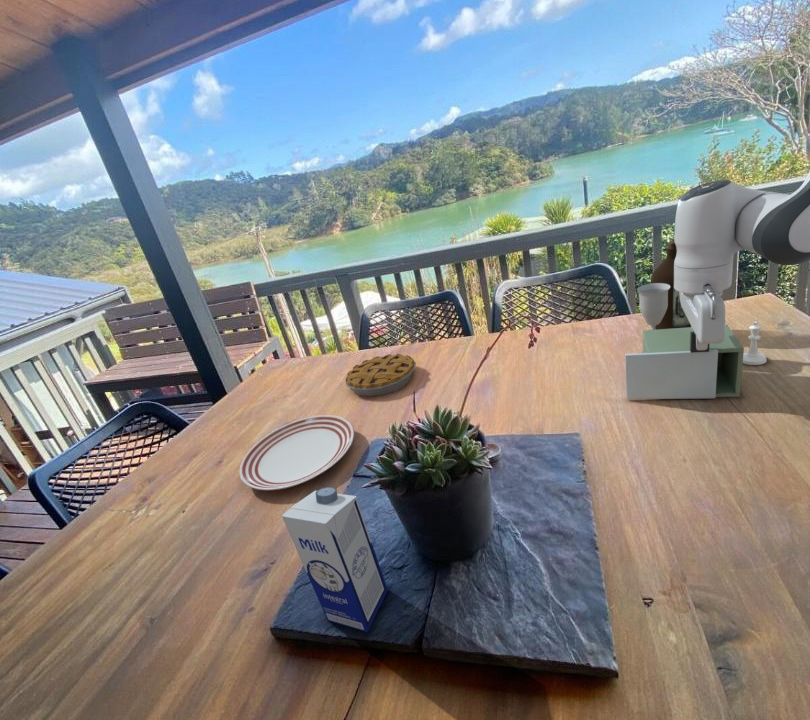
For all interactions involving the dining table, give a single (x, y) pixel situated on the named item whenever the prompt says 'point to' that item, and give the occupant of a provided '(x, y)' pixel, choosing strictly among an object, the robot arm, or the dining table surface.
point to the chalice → (653, 302)
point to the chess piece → (754, 347)
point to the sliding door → (672, 374)
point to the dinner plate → (296, 452)
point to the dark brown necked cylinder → (670, 292)
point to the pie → (380, 375)
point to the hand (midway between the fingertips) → (699, 345)
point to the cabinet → (727, 350)
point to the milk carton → (338, 556)
